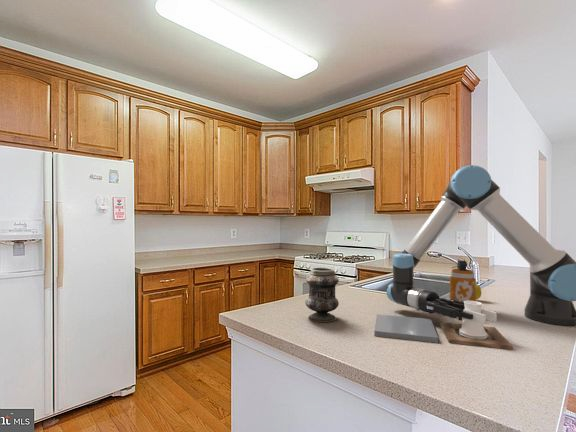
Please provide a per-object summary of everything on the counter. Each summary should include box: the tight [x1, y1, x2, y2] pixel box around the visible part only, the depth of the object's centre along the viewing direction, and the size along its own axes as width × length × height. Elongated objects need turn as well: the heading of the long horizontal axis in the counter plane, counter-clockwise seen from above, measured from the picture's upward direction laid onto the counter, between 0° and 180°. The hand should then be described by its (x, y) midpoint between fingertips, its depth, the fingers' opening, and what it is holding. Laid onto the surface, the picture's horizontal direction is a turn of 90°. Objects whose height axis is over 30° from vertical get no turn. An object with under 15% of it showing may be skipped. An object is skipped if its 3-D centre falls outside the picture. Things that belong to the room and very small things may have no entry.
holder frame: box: [440, 321, 514, 351], centre depth 98 cm, size 16×16×1 cm
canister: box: [449, 259, 477, 302], centre depth 126 cm, size 9×11×20 cm
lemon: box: [476, 283, 482, 301], centre depth 140 cm, size 6×6×8 cm
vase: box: [458, 300, 488, 340], centre depth 98 cm, size 8×8×10 cm
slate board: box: [374, 313, 439, 344], centre depth 104 cm, size 18×18×2 cm
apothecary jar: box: [304, 266, 340, 323], centre depth 115 cm, size 12×12×18 cm
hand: (490, 318), depth 93 cm, fingers closed on vase, 5 cm apart
